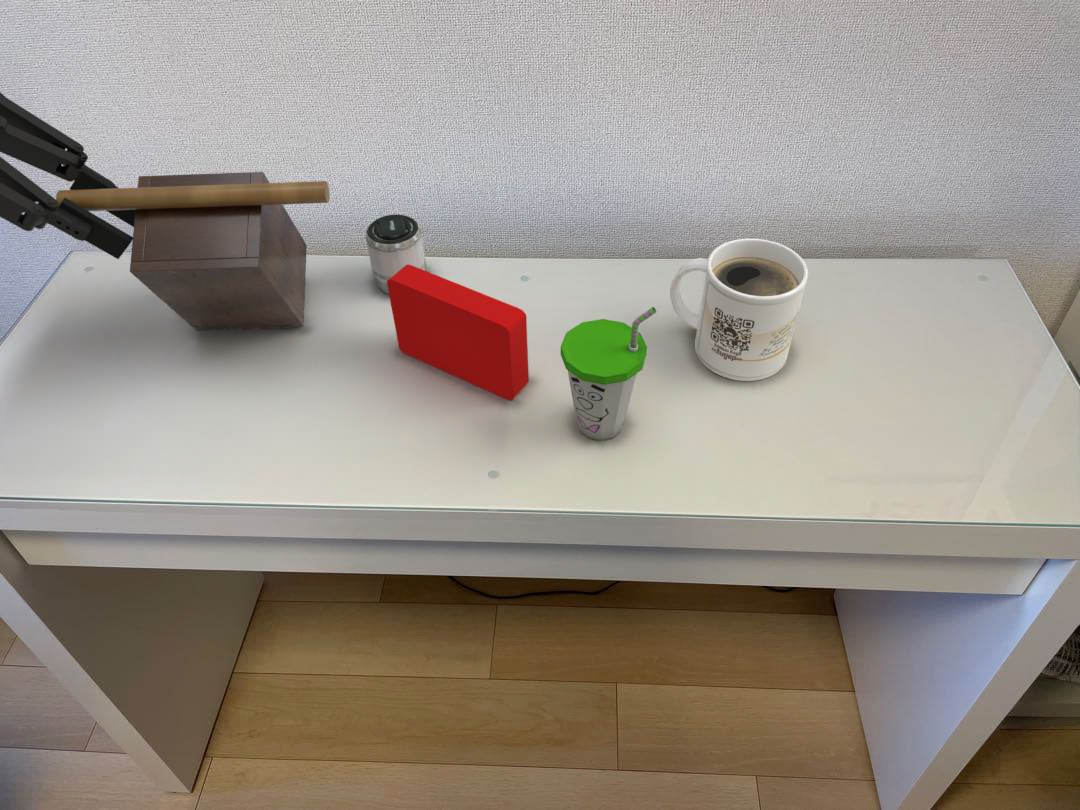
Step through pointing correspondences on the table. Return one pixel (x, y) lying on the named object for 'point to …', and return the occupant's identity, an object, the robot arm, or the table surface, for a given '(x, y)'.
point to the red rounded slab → (460, 331)
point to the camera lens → (394, 247)
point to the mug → (745, 307)
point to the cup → (603, 372)
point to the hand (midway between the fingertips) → (133, 232)
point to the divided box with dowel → (216, 245)
